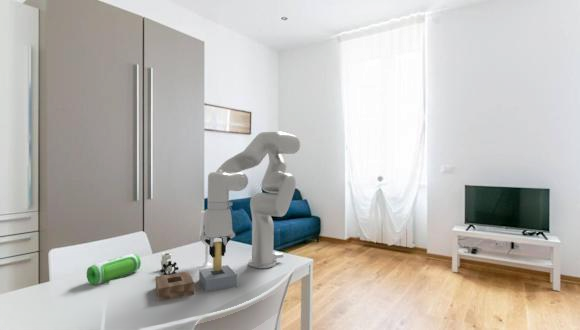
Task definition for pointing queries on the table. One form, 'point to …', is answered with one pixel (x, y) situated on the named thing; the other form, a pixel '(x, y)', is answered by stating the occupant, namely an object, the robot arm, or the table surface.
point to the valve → (167, 264)
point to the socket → (217, 278)
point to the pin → (217, 256)
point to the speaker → (113, 269)
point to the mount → (174, 285)
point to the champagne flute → (203, 241)
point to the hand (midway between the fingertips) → (217, 255)
